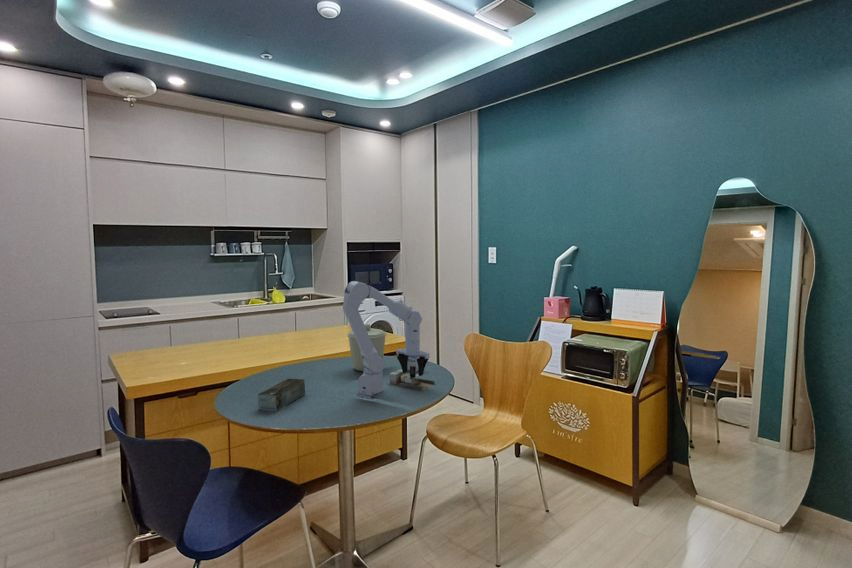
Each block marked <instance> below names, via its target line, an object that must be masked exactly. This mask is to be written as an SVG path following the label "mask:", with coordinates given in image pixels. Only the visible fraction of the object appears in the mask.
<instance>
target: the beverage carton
mask: <svg viewBox="0 0 852 568" xmlns="http://www.w3.org/2000/svg"><path fill="white" fill-rule="evenodd" d="M304 394H305V395H306V386H305V379H303V378H302V379H301V378H286V379H285V380H283V381H281V382H278V383H277V384H275V385H273V386H272V387H269V388H268V389H265V390H264V391H261V392H259V393H258V394H257V401H258V403H257V404H258V410H259V409H264V410H263V411H267V410H273V411H272V412H278V411H280V410H281V408H282V409H283V407H284V406H285V407H287V406H289V403H290V404H292V403H293V402H295V401H296V400H298V399H299V397H300V398H301V397H303V396H304ZM294 400H295V401H294ZM291 402H292V403H291ZM286 405H287V406H286ZM285 407H284V408H285ZM279 409H280V410H279Z"/></svg>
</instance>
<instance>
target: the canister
mask: <svg viewBox="0 0 852 568" xmlns="http://www.w3.org/2000/svg"><path fill="white" fill-rule="evenodd" d="M364 325H365V328H366V330H367V332H368V335H369V337H370V339H371V342H372V344H373V346H374V348H375V349H376V351H377V352H378V354H379V356H380V357H381V358H382V359H383V360H384V354H385V345H386V344H385V343H386V336H387V334H388V333H387V332H386V331H384V330H382V329H379V328H373V327H372V326H371V324H369V323H364ZM347 337H348V342H349V347H350V356H351V362H352V366H353V368H354V369H355V371H358V372H364V368H365V366H364V365H363V364H362V356H361V350H360V347H359V345H358V343H357V340H356V338H355V336H354V333H353V331H352V330H351V331H350V332H348V333H347Z"/></svg>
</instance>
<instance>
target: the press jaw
mask: <svg viewBox="0 0 852 568" xmlns="http://www.w3.org/2000/svg"><path fill="white" fill-rule="evenodd" d="M409 375H410V376H408V377H406V378H405V384H409V385H415V384H417V383H420V382H421V379H422V376H419V374H418V373H417V372H416V366H410V371H409Z"/></svg>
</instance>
